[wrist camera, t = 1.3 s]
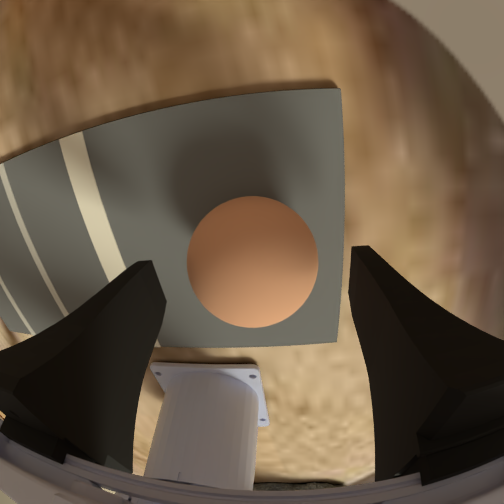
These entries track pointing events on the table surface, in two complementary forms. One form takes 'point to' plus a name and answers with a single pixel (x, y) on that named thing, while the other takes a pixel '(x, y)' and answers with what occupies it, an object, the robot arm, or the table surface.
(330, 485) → the koala plush
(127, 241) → the lane mat
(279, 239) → the ball
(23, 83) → the table surface
